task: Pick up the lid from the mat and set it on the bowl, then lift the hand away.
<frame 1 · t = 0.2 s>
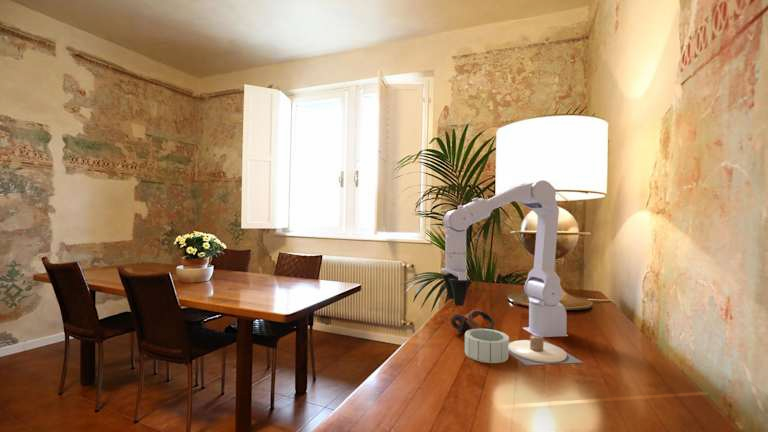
hand: (455, 301, 94), 10 cm above the table, fingers open, 7 cm apart
mat: (536, 353, 83), on the table
dark brown rounded loops: (471, 337, 96), on the table
lid: (536, 351, 83), resting on mat
bowl: (486, 356, 82), on the table
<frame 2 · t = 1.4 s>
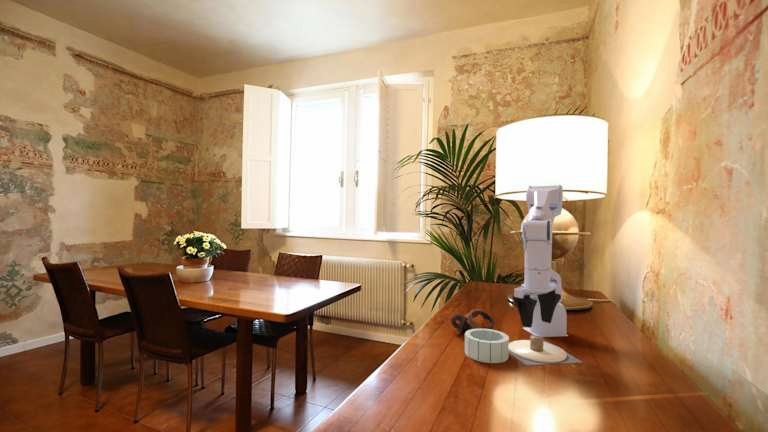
hand: (536, 324, 83), 7 cm above the table, fingers open, 7 cm apart
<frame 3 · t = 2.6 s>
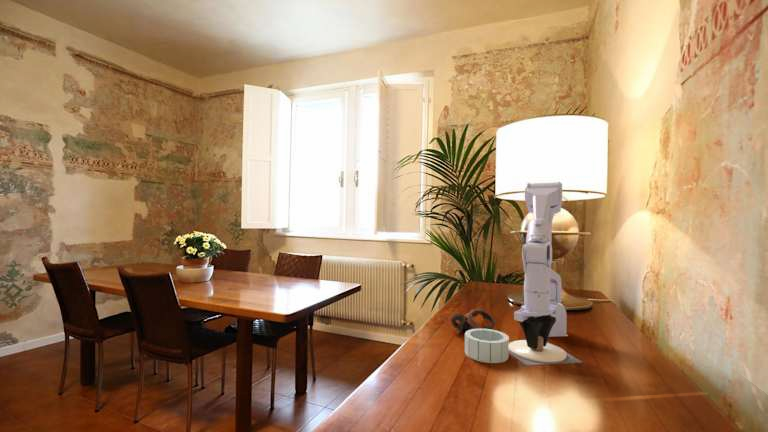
hand: (536, 346, 83), 2 cm above the table, fingers closed on lid, 3 cm apart
lid: (536, 351, 83), resting on mat, touching gripper
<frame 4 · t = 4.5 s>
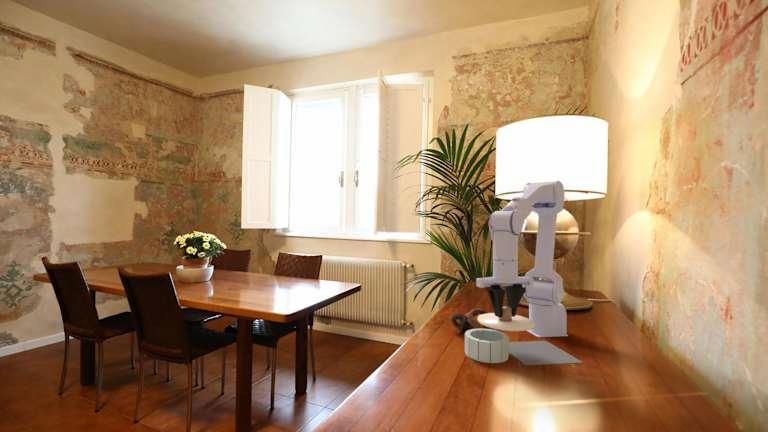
hand: (504, 316, 82), 10 cm above the table, fingers closed on lid, 3 cm apart
lid: (505, 322, 82), point 8 cm above the table, touching gripper
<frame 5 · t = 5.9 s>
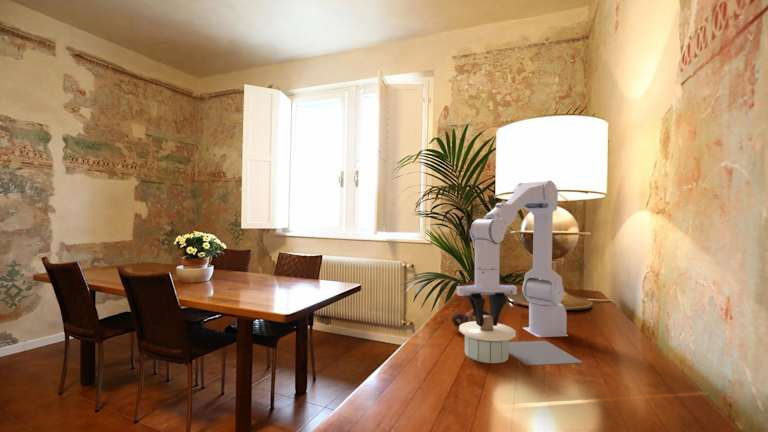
hand: (486, 324, 82), 7 cm above the table, fingers closed on lid, 3 cm apart
lid: (486, 331, 82), point 6 cm above the table, touching gripper
when the fingers open (7 cm above the table, at t = 6.8 s): lid stays where it is, resting on bowl.
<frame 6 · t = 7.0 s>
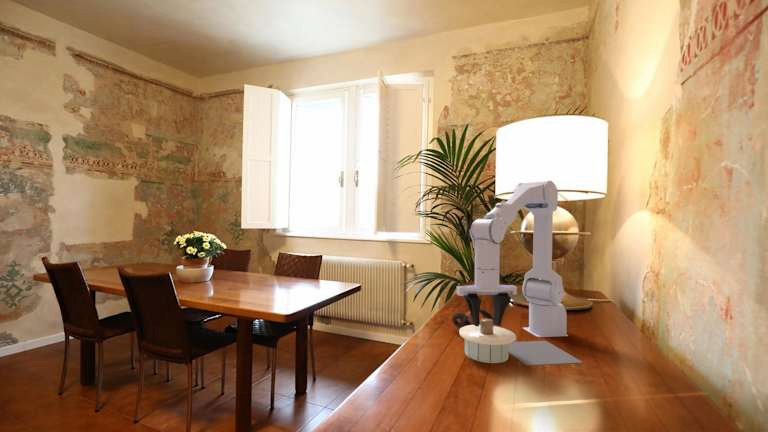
hand: (486, 324, 82), 8 cm above the table, fingers open, 5 cm apart
lid: (486, 335, 82), point 5 cm above the table, touching bowl
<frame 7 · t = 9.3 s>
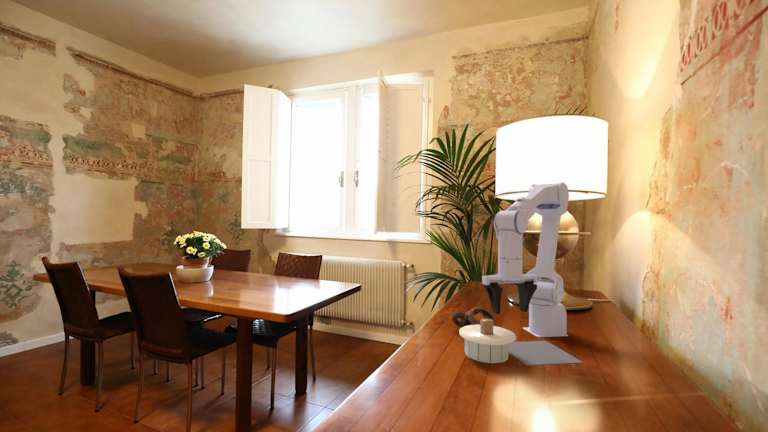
hand: (510, 312, 85), 10 cm above the table, fingers open, 7 cm apart
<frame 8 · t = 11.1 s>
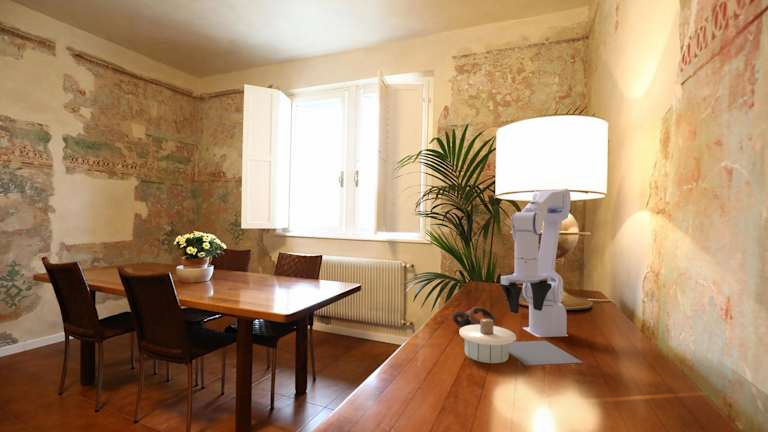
hand: (526, 311, 87), 9 cm above the table, fingers open, 7 cm apart
at the end: lid 0.1 cm from the bowl (horizontally); lid point 5.0 cm above the table; lid tilted 0° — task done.
